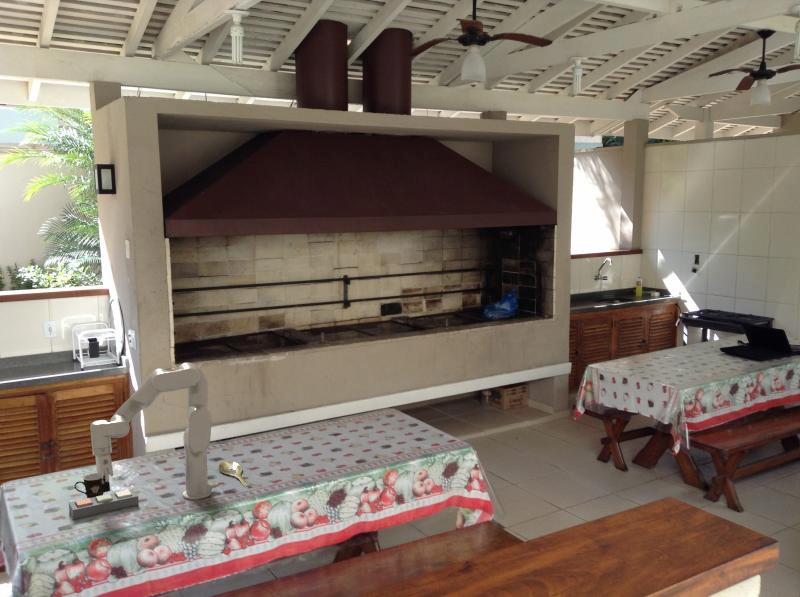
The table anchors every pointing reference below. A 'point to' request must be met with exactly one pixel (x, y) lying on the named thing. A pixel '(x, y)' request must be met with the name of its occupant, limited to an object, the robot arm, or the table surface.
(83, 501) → the button terracotta
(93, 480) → the coffee mug
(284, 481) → the table surface
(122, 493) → the button cream
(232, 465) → the spoon
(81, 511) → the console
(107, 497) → the button sage
